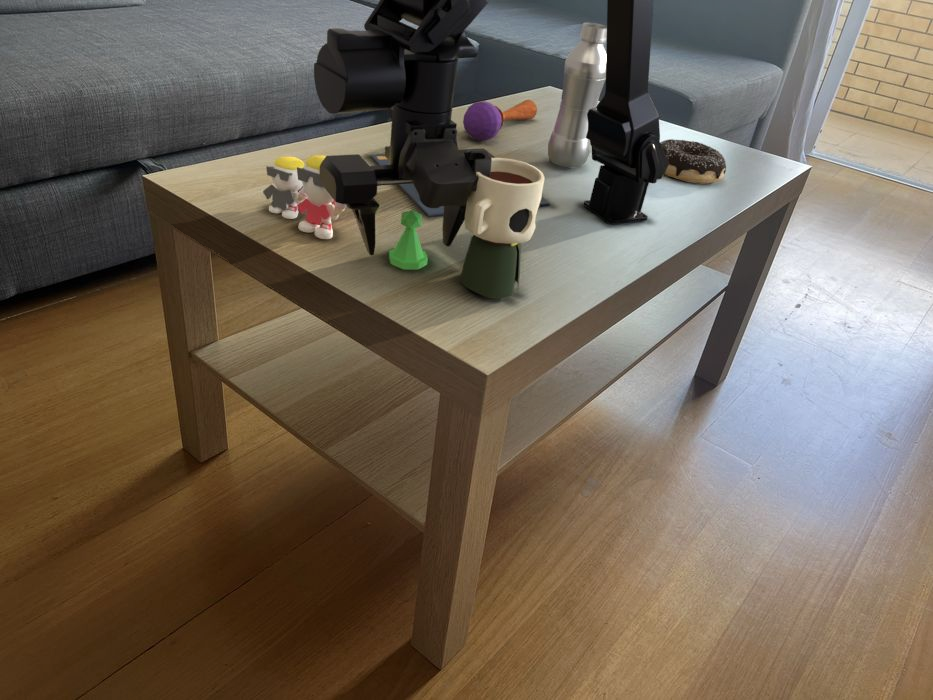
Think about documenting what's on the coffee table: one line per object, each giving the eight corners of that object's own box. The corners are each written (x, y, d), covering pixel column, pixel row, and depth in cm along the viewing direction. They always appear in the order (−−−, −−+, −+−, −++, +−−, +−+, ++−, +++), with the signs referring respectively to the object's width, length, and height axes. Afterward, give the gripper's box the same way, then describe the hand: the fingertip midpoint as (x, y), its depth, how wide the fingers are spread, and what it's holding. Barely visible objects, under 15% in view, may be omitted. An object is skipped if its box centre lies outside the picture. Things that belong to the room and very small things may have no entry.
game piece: (422, 273, 77) (428, 221, 74) (383, 265, 78) (387, 214, 74) (431, 255, 81) (436, 206, 77) (394, 248, 81) (397, 198, 78)
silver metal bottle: (539, 165, 109) (566, 24, 98) (551, 153, 115) (579, 17, 103) (580, 176, 108) (612, 34, 96) (590, 163, 113) (623, 27, 102)
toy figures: (258, 207, 85) (256, 137, 80) (288, 198, 88) (288, 131, 83) (326, 246, 79) (327, 173, 75) (355, 235, 82) (359, 165, 78)
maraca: (549, 101, 125) (495, 114, 109) (536, 133, 128) (482, 150, 112) (520, 85, 126) (463, 96, 110) (508, 117, 130) (451, 132, 114)
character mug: (492, 321, 71) (515, 198, 64) (432, 295, 74) (447, 174, 66) (540, 280, 79) (565, 167, 72) (484, 258, 82) (503, 147, 75)
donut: (681, 156, 122) (688, 132, 120) (736, 183, 114) (745, 158, 112) (635, 162, 116) (642, 138, 114) (691, 191, 109) (699, 165, 106)
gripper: (359, 137, 60) (352, 298, 69) (547, 130, 68) (519, 275, 77) (318, 95, 68) (316, 245, 77) (491, 93, 76) (472, 229, 85)
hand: (409, 249), depth 78 cm, fingers open, 9 cm apart
